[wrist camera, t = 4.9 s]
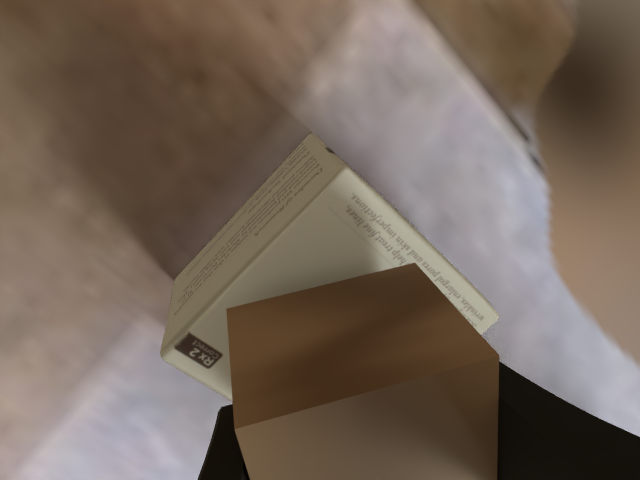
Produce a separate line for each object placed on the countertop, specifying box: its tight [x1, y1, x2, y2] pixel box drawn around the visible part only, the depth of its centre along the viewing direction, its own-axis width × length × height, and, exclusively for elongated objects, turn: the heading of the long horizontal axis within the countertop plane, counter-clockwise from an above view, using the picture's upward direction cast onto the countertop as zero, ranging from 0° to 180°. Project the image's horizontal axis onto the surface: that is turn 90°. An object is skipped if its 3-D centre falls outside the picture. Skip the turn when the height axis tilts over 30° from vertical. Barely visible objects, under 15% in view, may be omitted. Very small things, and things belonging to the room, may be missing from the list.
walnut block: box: [226, 263, 499, 480], centre depth 11 cm, size 5×5×4 cm
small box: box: [160, 133, 499, 402], centre depth 17 cm, size 8×8×5 cm
